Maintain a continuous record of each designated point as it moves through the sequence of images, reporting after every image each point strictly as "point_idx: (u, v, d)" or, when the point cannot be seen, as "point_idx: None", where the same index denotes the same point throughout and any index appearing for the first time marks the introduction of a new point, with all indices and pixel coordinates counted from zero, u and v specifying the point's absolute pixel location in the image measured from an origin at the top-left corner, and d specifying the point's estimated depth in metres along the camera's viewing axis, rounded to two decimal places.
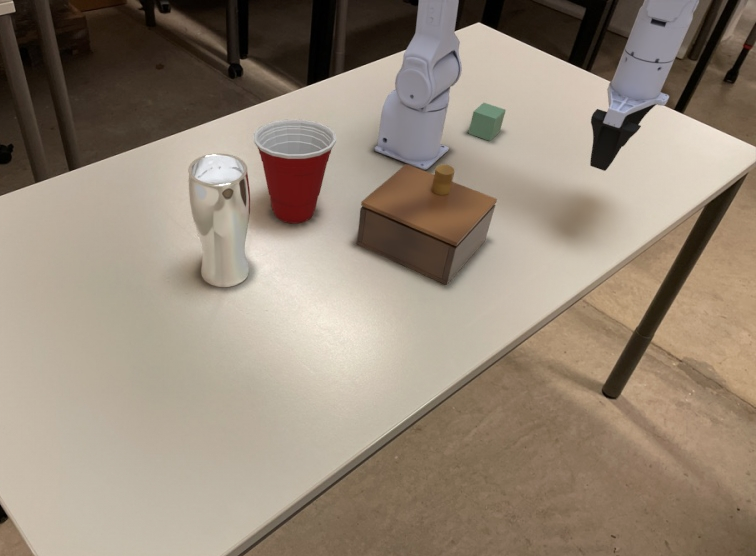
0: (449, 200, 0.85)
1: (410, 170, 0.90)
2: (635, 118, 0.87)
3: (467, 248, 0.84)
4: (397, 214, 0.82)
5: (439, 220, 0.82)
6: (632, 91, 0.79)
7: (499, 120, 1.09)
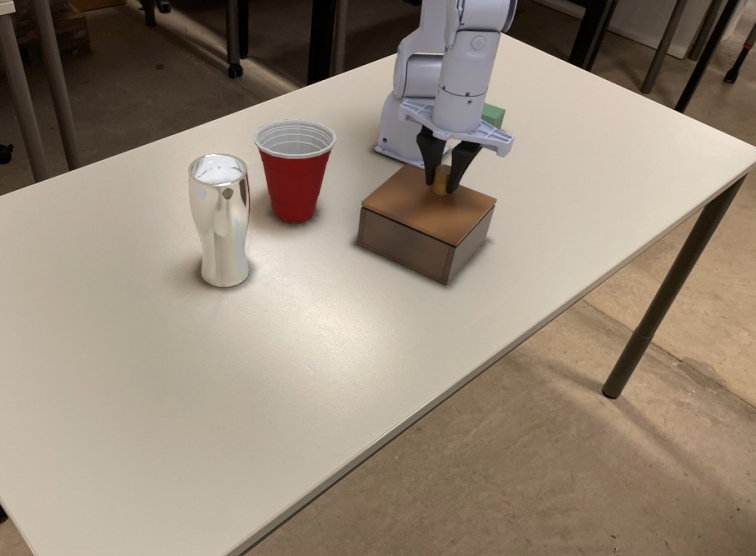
0: (449, 200, 0.85)
1: (410, 170, 0.90)
2: None
3: (467, 248, 0.84)
4: (397, 214, 0.82)
5: (439, 220, 0.82)
6: None
7: (499, 120, 1.09)
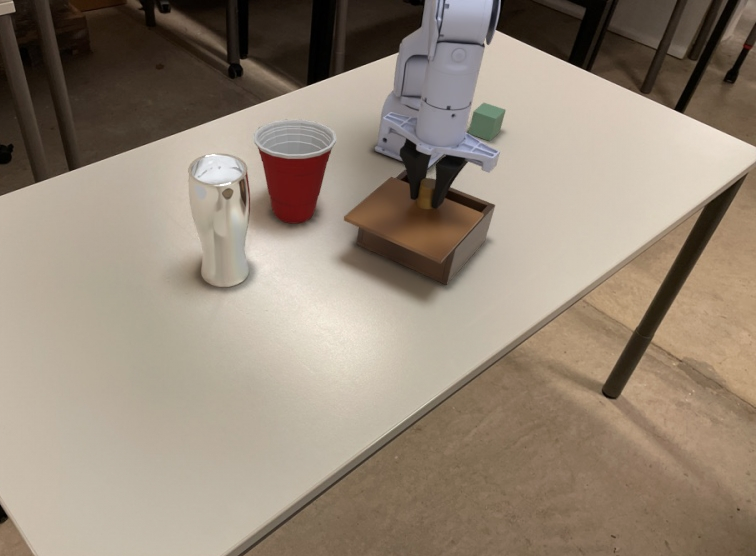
0: (434, 215, 0.83)
1: (395, 183, 0.87)
2: None
3: (467, 248, 0.84)
4: (380, 230, 0.80)
5: (423, 236, 0.80)
6: None
7: (499, 120, 1.09)
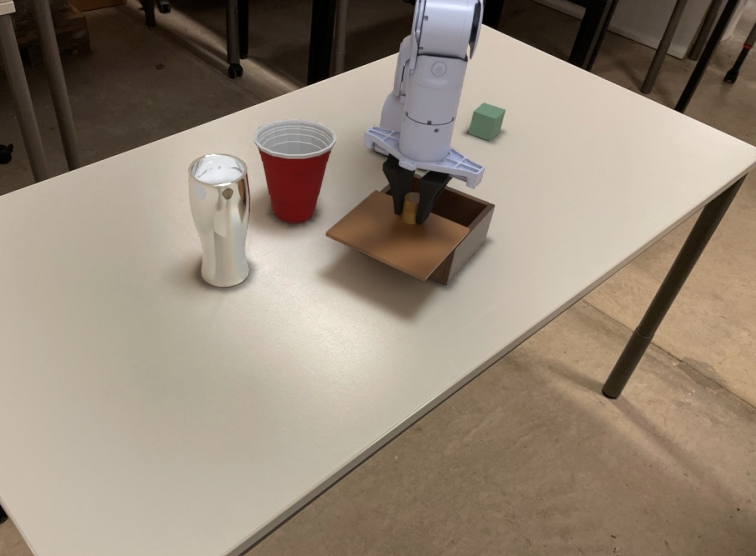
0: (419, 230, 0.80)
1: (379, 197, 0.85)
2: None
3: (467, 248, 0.84)
4: (363, 246, 0.78)
5: (407, 252, 0.77)
6: None
7: (499, 120, 1.09)
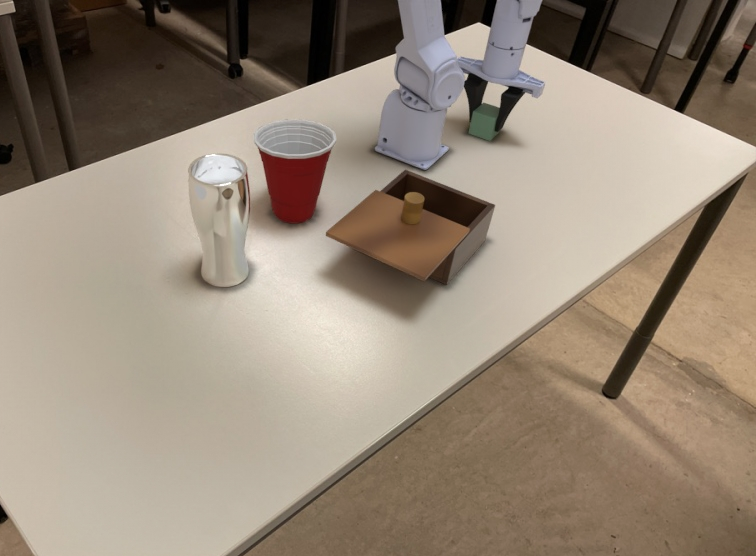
0: (419, 230, 0.80)
1: (379, 197, 0.85)
2: (482, 95, 1.09)
3: (467, 248, 0.84)
4: (363, 246, 0.78)
5: (407, 252, 0.77)
6: (518, 70, 1.02)
7: None
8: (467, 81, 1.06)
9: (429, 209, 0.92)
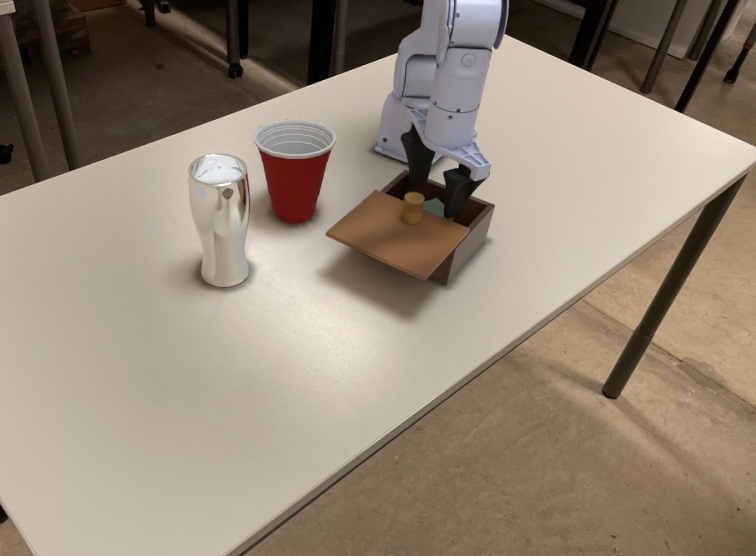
0: (419, 230, 0.80)
1: (379, 197, 0.85)
2: (429, 156, 0.86)
3: (467, 248, 0.84)
4: (363, 246, 0.78)
5: (407, 252, 0.77)
6: (464, 140, 0.77)
7: None
8: (405, 134, 0.84)
9: None
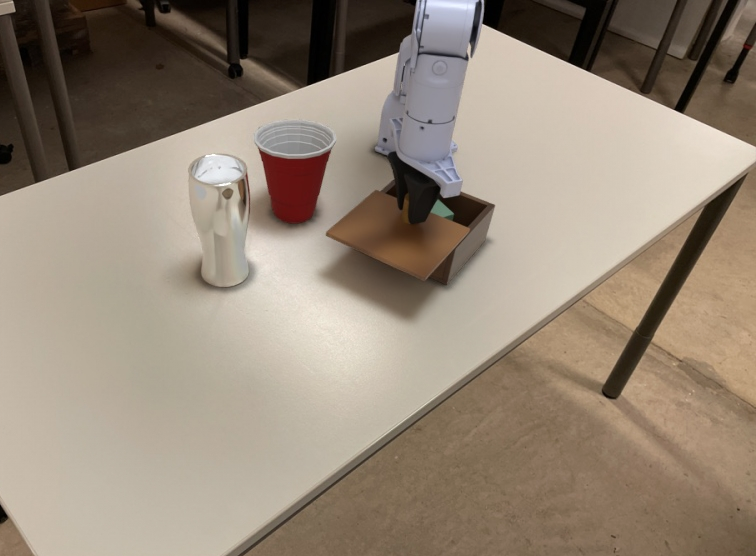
0: (419, 230, 0.80)
1: (380, 197, 0.85)
2: None
3: (467, 248, 0.84)
4: (363, 246, 0.78)
5: (407, 252, 0.77)
6: (438, 154, 0.73)
7: None
8: (393, 153, 0.78)
9: None
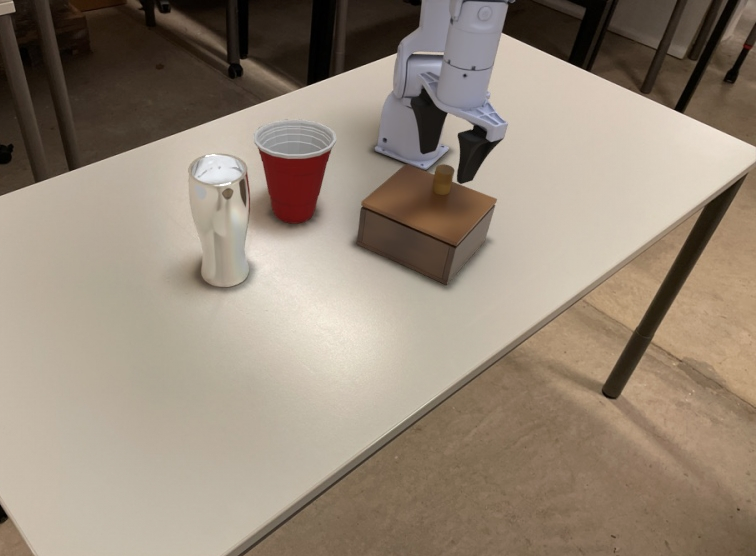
0: (449, 200, 0.85)
1: (410, 170, 0.90)
2: (440, 121, 0.84)
3: (467, 248, 0.84)
4: (397, 214, 0.82)
5: (439, 220, 0.82)
6: (479, 100, 0.75)
7: None
8: (415, 98, 0.82)
9: None
